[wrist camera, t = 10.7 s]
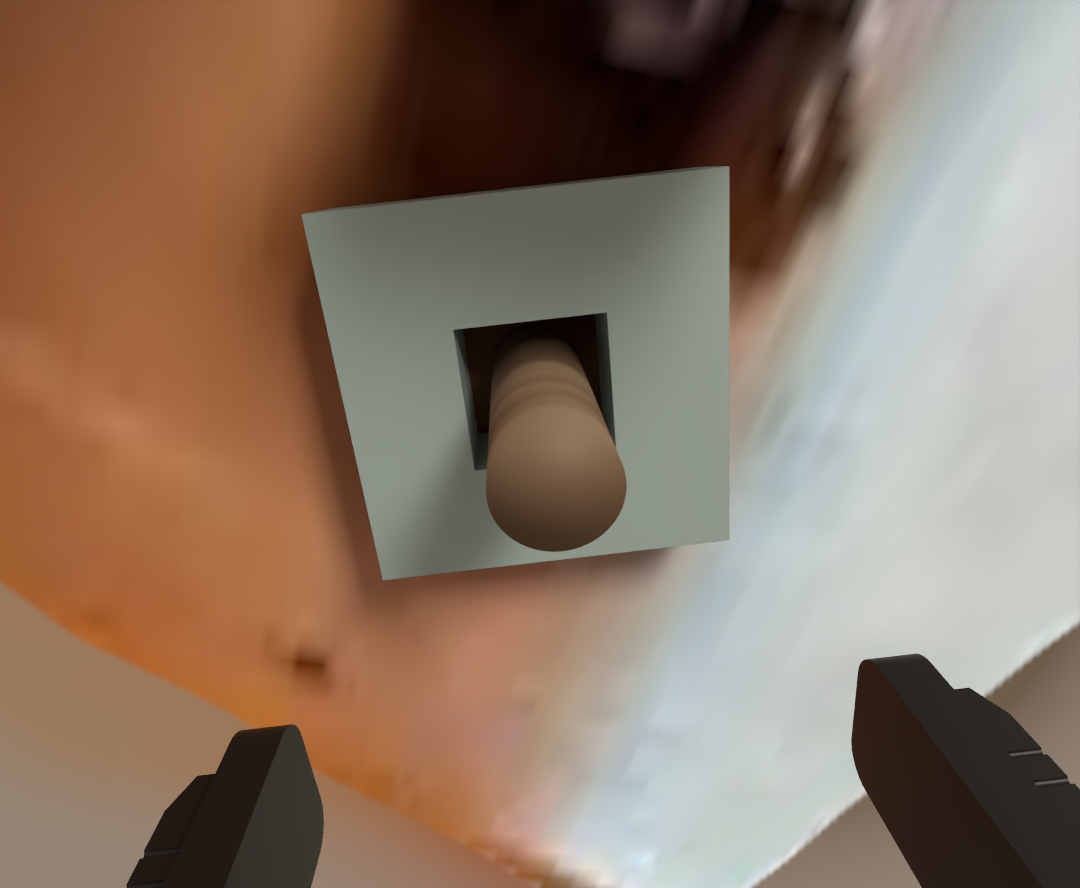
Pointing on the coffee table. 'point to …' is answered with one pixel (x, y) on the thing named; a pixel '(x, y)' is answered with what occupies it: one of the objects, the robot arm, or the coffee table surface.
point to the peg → (549, 445)
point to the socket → (519, 296)
